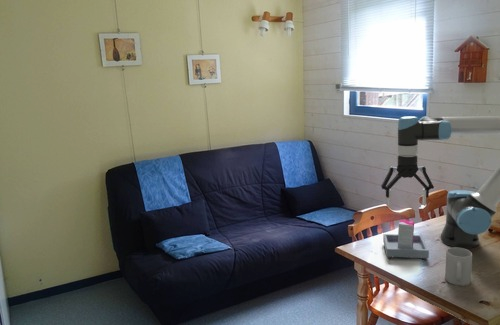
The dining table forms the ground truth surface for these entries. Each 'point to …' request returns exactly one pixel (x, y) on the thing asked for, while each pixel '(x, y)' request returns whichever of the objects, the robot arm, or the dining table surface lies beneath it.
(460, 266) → the mug
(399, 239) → the supplement box
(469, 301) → the dining table surface
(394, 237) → the grey tray
